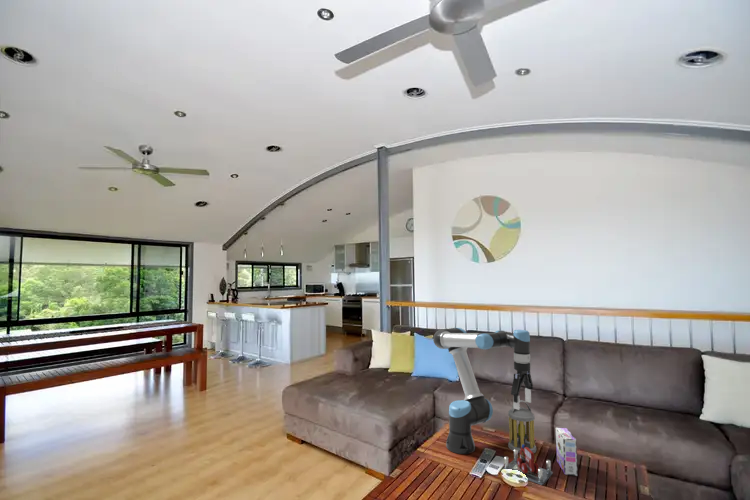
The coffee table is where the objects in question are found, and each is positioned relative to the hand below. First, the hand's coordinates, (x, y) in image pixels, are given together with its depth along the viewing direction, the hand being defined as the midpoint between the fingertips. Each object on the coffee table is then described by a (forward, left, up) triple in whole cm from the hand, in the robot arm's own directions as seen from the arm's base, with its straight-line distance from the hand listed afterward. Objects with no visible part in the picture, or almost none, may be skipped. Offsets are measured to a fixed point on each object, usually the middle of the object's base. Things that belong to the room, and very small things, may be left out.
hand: (522, 405), depth 181 cm
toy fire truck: (+4, -5, -28) cm, 28 cm away
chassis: (+4, -5, -29) cm, 29 cm away
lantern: (-8, +18, -29) cm, 35 cm away
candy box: (+16, +12, -29) cm, 35 cm away
